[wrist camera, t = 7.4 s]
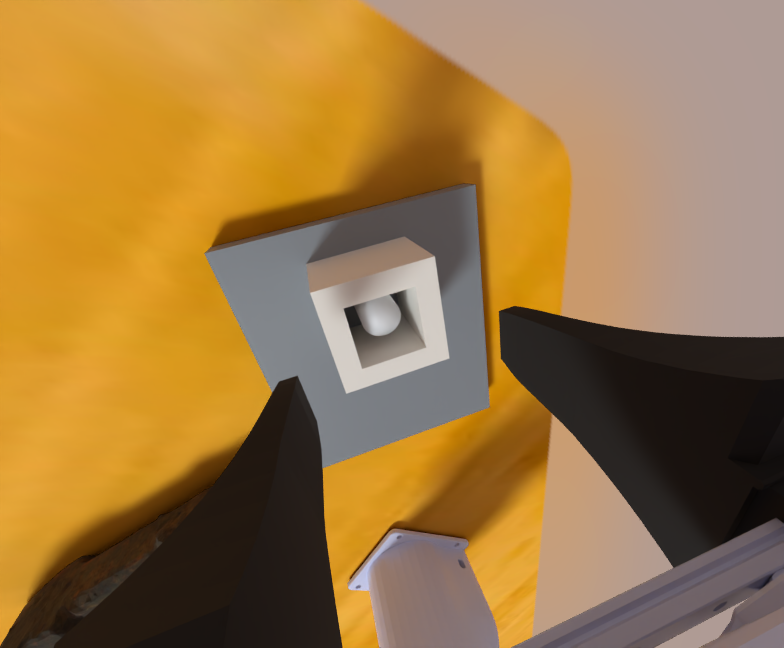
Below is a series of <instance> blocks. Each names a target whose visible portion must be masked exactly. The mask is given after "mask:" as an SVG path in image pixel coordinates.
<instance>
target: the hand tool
mask: <svg viewBox="0 0 784 648" xmlns="http://www.w3.org/2000/svg"><path fill="white" fill-rule="evenodd" d="M210 489H211V487H210V488H208V489H206V490H205V491H203V492H201V493H199V494H198V495H197V496H195V497H194V498H192V499H191V500H189V501H187V502H186V503H185V504H183V505H182V506H180V507H178V508H177V509H175V510H173V511H171V512H169V513H167V514H163V515H160V516H159V517H158V519H157V520H156V521H154V522H153V523H151V524H149V525H147V526H146V527H144V528H142V529H139V530H138V531H137V532H135V533H134V534H133V535H131V536H130V537H128V538H126V539H125V540H123V541H121V542H120V543H118V544H116V545H114V546H113V547H111V548H109V549H108V550H106V551H104V552H103V553H101V554H99V555H98V556H91V555H88V556H82V557H80V558H78V559H77V560H75V561H74V562H72V563H71V564H70V565H68V566H67V567H66V568H64V569H63V570H62V571H60V572H59V573H58V574H57V575H56V576H55V577H54V578H53V579H52V580H50V581H49V582H48V583H47V584H46V585H45V586H44V587H43V588H42V589H41V590H40V591H39V592H38V593H37V594H36V595H35V596H34V597H33V598H32V599H31V600H30V602H29V603H28V604H27V605H26V606H25V607H24V608H23V610H22V611H21V613H20V614H19V616H18V618H17V619H16V621H15V622H14V624H13V626H12V627H11V628H10V630H9V632H8V634H7V636H6V637H5V639H4V641H3V642H2V644H1V646H0V648H53V647H54V645H55V643H56V642H57V641H58V640H60V639H61V638H62V637H63V636H64V635H65V634H67V633H68V632H69V631H70V630H71V629H72V628H73V627H74V626H75V625H77V624H78V623H79V622H80V621H81V620H82V619H83V618H84V617H85V616H86V615H88V614H89V613H90V612H91V611H92V610H93V609H94V608H95V607H96V606H97V605H99V604H100V603H101V602H102V601H103V600H104V599H105V598H106V597H107V596H108V595H110V594H111V593H112V592H113V591H114V590H115V589H116V588H117V587H118V586H119V585H120V584H121V583H123V582H124V581H125V580H126V579H127V578H128V577H129V576H130V575H131V574H132V573H133V572H134V571H135V570H136V569H137V568H138V567H139V566H140V565H141V564H142V563H143V562H144V561H145V560H146V559H147V558H148V557H149V556H150V555H151V554H152V553H153V552H154V551H155V550H156V549H157V548H158V547H159V546H160V545H161V544H162V543H163V542H164V541H165V540H166V539H167V538H168V537H169V535H170V534H171V533H172V532H173V531H174V530H175V529H176V528H177V527H178V526H179V525H180V523H181V522H182V521H183V520H184V519H185V518H186V517H187V515H188V514H189V513H190V512H191V511H192V510H193V509H194V507H195V506H196V505H197V504H198V503H199V502H200V501H201V499H202V498H203V497H204V496H205V495H206V494H207V492H208V491H209V490H210Z"/></svg>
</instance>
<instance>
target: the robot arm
mask: <svg viewBox="0 0 784 648" xmlns="http://www.w3.org/2000/svg"><path fill="white" fill-rule="evenodd" d="M499 322H500V347H501V359H502V360H503V362H504V363H505V364H506V366H507V367H508V368H509V370H510V371H511V372H512V373H513V375H514V376H515V377H516V378H517V380H518V381H519V382H520V383H521V384H522V385H523V386H524V387H525V388H526V389H527V390H528V391H529V392H530V393H531V394H532V395H534V396H535V397H536V398H537V399H538V400H539V401H540V402H541V403H542V404H543V405H544V406H545V407H546V408H547V409H548V410H549V411H550V412H551V413H552V414H553V415H554V416H555V417H556V418H557V419H559V421H560V422H562V423H563V424H564V426H565V427H566V428H567V429H568V430H569V431H570V432H571V433H572V434H573V435H574V436H575V437H576V439H577V440H578V441H579V442H580V443H581V444H582V446H583V447H584V448H585V449H586V450H587V452H588V453H589V454H590V455H591V456H592V457H593V459H594V460H595V461H596V462H597V464H598V465H599V466H600V467H601V469H602V470H603V471H604V472H605V474H606V475H607V476H608V477H609V479H610V480H611V481H612V482H613V484H614V485H615V486H616V488H617V489H618V490H619V491H620V493H621V494H622V496H623V497H624V498H625V499H626V501H627V502H628V504H629V505H630V506H631V508H632V509H633V510H634V512H635V513H636V514H637V516H638V517H639V518H640V520H641V521H642V522H643V524H644V525H645V527H646V528H647V530H648V531H649V532H650V534H651V535H652V537H653V538H654V539H655V541H656V543H657V544H658V545H659V547H660V548H661V550H662V551H663V552H664V554H665V556H666V557H667V558H668V560H669V561H670V563H671V565H672V566H673V569H671V570H669V571H667V572H665V573H663V574H660V575H659V576H656V577H654V578H652V579H650V580H648V581H646V582H644V583H642V584H640V585H638V586H636V587H634V588H632V589H630V590H628V591H626V592H624V593H622V594H620V595H618V596H616V597H613V598H612V599H609V600H607V601H606V602H603V603H601V604H599V605H597V606H595V607H593V608H591V609H589V610H587V611H585V612H583V613H581V614H579V615H577V616H575V617H573V618H571V619H569V620H567V621H564V622H562V623H560V624H558V625H556V626H554V627H552V628H550V629H548V630H546V631H544V632H542V633H540V634H538V635H536V636H534V637H532V638H530V639H528V640H526V641H524V642H522V643H520V644H518V645H515V646H513V647H511V648H655V647H656V646H658V645H660V644H662V643H664V642H666V641H668V640H670V639H672V638H673V637H675V636H677V635H679V634H681V633H683V632H685V631H687V630H688V629H690V628H692V627H694V626H696V625H698V624H700V623H702V622H704V621H706V620H708V619H709V618H711V617H713V616H715V615H717V614H719V613H721V612H723V611H725V610H726V609H728V608H730V607H732V606H734V605H736V604H738V603H740V602H742V601H744V600H745V599H747V598H748V599H747V600H746V601H744V602H743V603H742V604H740V605H739V606H738V607H736V608H735V609H734V612H733V615H732V618H731V621H730V623H729V624H728V626H727V627H726V628H725V630H724V631H723V633H722V634H721V636H720V637H719V638H717V639H715V640H713V641H711V642H709V643H707V644H705V645H703V646H701V647H699V648H784V337H761V338H760V337H711V336H709V337H708V336H692V335H678V334H665V333H655V332H647V331H639V330H632V329H625V328H618V327H612V326H607V325H601V324H596V323H591V322H587V321H582V320H577V319H573V318H568V317H564V316H560V315H555V314H551V313H547V312H543V311H538V310H534V309H529V308H524V307H517V306H513V307H510V308H507V309H504V310H501V311H499ZM468 544H469V543H468V541H467V539H462V538H455V537H449V536H442V535H435V534H429V533H422V532H415V531H408V530H402V529H392V530H390V531H389V532H388V534H387V535H386V536H385V537H384V539H383V540H382V541H381V542H380V544H379V545H378V546H377V547H376V549H375V550H374V551H373V552H372V553H371V555H370V556H369V557H368V558H367V560H366V561H365V562H364V563H363V565H362V566H361V567H360V568H359V570H358V571H357V572H356V573H355V575H354V576H353V577H352V578H351V580H350V581H349V582H348V589H350V590H367V591H369V592H370V598H371V603H372V609H373V614H374V620H375V626H376V631H377V637H378V642H379V648H499V639H498V632H497V627H496V624H495V620H494V618H493V615H492V613H491V610H490V608H489V606H488V604H487V601H486V599H485V597H484V595H483V592H482V590H481V588H480V585H479V583H478V581H477V579H476V576H475V574H474V572H473V570H472V567H471V565H470V563H469V561H468V558H467V556H466V554H465V552H464V550H465V548H466V547H467V546H468ZM749 597H750V598H749ZM53 648H342V642H341V635H340V629H339V623H338V617H337V610H336V604H335V597H334V590H333V583H332V577H331V570H330V563H329V555H328V548H327V540H326V533H325V520H324V497H323V469H322V448H321V442H320V435H319V430H318V424H317V420H316V418H315V415H314V413H313V411H312V408H311V406H310V404H309V401H308V399H307V396H306V394H305V392H304V389H303V387H302V385H301V382H300V380H299V378H298V376H295V377H291V378H288V379H285V380H282V381H279V382H278V384H277V386H276V387H275V389H274V391H273V393H272V395H271V396H270V398H269V400H268V402H267V404H266V406H265V407H264V409H263V411H262V413H261V415H260V416H259V418H258V420H257V422H256V423H255V425H254V427H253V429H252V430H251V432H250V434H249V435H248V437H247V438H246V440H245V441H244V443H243V444H242V446H241V448H240V449H239V451H238V452H237V454H236V455H235V457H234V458H233V460H232V461H231V462H230V464H229V465H228V467H227V468H226V469H225V471H224V472H223V473H222V475H221V476H220V477H219V478H218V480H217V481H216V482H215V484H214V485H213V486H212V487H211V489H210V490H209V491H208V492H207V494H206V495H205V496H204V497H203V498H202V499H201V501H200V502H199V503H198V504H197V505H196V506H195V507H194V509H193V510H192V511H191V512H190V513H189V514H188V515H187V517H186V518H185V519H184V520H183V521H182V522H181V523H180V525H179V526H178V527H177V528H176V529H175V530H174V531H173V532H172V533H171V534H170V535H169V537H168V538H167V539H166V540H165V541H164V542H163V543H162V544H161V545H160V546H159V547H158V548H157V549H156V550H155V551H154V552H153V553H152V554H151V555H150V556H149V557H148V558H147V559H146V560H145V561H144V562H143V563H142V564H141V565H140V566H139V567H138V568H137V569H136V570H135V571H134V572H133V573H132V574H131V575H130V576H129V577H128V578H127V579H126V580H125V581H124V582H123V583H121V584H120V585H119V586H118V587H117V588H116V589H115V590H114V591H113V592H112V593H111V594H110V595H108V596H107V597H106V598H105V599H104V600H103V601H102V602H101V603H100V604H99V605H97V606H96V607H95V608H94V609H93V610H92V611H91V612H90V613H89V614H88V615H86V616H85V617H84V618H83V619H82V620H81V621H80V622H79V623H78V624H77V625H75V626H74V627H73V628H72V629H71V630H70V631H69V632H68V633H67V634H65V635H64V636H63V637H62V638H61V639H60V640H58V641H57V642H56V643H55V645H54V647H53Z"/></svg>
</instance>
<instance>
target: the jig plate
mask: <svg viewBox="0 0 784 648" xmlns="http://www.w3.org/2000/svg"><path fill="white" fill-rule="evenodd" d="M404 236H405V237H406V238H408V239H409V240H411V241H412V242H414V243H415V244H417V245H418V246H420V247H421V248H423V249H425V250H426V251H428V252H429V253H431V254H432V255H434V256H435V261H436V268H437V275H438V282H439V289H440V296H441V303H442V310H443V317H444V324H445V331H446V338H447V345H448V351H449V359H446V360H443V361H440V362H437V363H435V364H432V365H429V366H426V367H423V368H420V369H417V370H414V371H411V372H408V373H405V374H403V375H400V376H397V377H394V378H391V379H388V380H385V381H382V382H379V383H376V384H373V385H371V386H368V387H365V388H362V389H359V390H356V391H353V392H350V393H347V394H346V392H345V389H344V386H343V383H342V381H341V378H340V375H339V372H338V369H337V367H336V364H335V361H334V358H333V356H332V353H331V350H330V347H329V344H328V342H327V339H326V336H325V333H324V331H323V328H322V325H321V322H320V319H319V317H318V314H317V311H316V308H315V305H314V303H313V300H312V297H311V294H310V289H309V282H308V274H307V267H306V264H308V263H312V262H315V261H319V260H322V259H326V258H329V257H333V256H336V255H340V254H344V253H347V252H351V251H354V250H358V249H361V248H365V247H368V246H372V245H376V244H379V243H383V242H386V241H390V240H393V239H397V238H400V237H404ZM204 254H205V256H206V258H207V260H208V262H209V264H210V266H211V268H212V270H213V272H214V274H215V276H216V278H217V280H218V282H219V284H220V286H221V288H222V290H223V292H224V294H225V296H226V299H227V301H228V303H229V305H230V307H231V309H232V311H233V313H234V315H235V317H236V319H237V321H238V323H239V325H240V327H241V329H242V331H243V333H244V335H245V337H246V339H247V341H248V343H249V346H250V348H251V350H252V352H253V354H254V356H255V358H256V360H257V362H258V364H259V366H260V368H261V370H262V372H263V374H264V376H265V378H266V380H267V382H268V384H269V386H270V388H271V391H272V393H273V391H274V389H275V387H276V386H277V384H278V382H279V381H282V380H285V379H288V378H291V377H295V376H298V378H299V380H300V382H301V385H302V387H303V389H304V392H305V394H306V396H307V399H308V401H309V404H310V406H311V408H312V411H313V413H314V415H315V418H316V420H317V424H318V430H319V435H320V442H321V448H322V468H324V467H327V466H330V465H333V464H335V463H338V462H341V461H344V460H346V459H349V458H352V457H355V456H357V455H360V454H363V453H366V452H368V451H371V450H374V449H376V448H379V447H382V446H385V445H387V444H390V443H393V442H396V441H398V440H401V439H404V438H407V437H409V436H412V435H415V434H418V433H420V432H423V431H426V430H429V429H431V428H434V427H437V426H439V425H442V424H445V423H448V422H450V421H453V420H456V419H459V418H461V417H464V416H467V415H470V414H472V413H475V412H478V411H481V410H483V409H486V408H489V407H490V406H489V390H488V374H487V358H486V343H485V327H484V311H483V295H482V279H481V264H480V248H479V232H478V216H477V201H476V185H474V184H465V183H464V184H460V185H456V186H452V187H448V188H444V189H440V190H436V191H432V192H428V193H424V194H420V195H416V196H412V197H408V198H405V199H401V200H397V201H393V202H389V203H385V204H381V205H377V206H373V207H369V208H365V209H361V210H357V211H353V212H349V213H345V214H341V215H337V216H333V217H329V218H325V219H321V220H317V221H313V222H309V223H305V224H301V225H297V226H293V227H289V228H285V229H281V230H277V231H273V232H270V233H266V234H262V235H258V236H254V237H250V238H246V239H242V240H238V241H234V242H230V243H226V244H222V245H218V246H214V247H210V248H209V249H208V250H207V251H206V252H205V253H204ZM344 312H345V315H346V319H347V322H348V325H349V328H352V327H355V326H358V325H361V324H362V325H363V327H364V329H365V330H366V331H367V332H368V333H370V334H372V335H375V336H383V335H387V334H389V333H391V332H392V331H394V330H395V329H396V327H397V326H398V324H399V322H400V319H401V311H400V307H399V302H398V297H397V293H393V294H389V295H386V296H383V297H380V298H376V299H373V300H370V301H366V302H363V303H360V304H357V305H353V306H350V307H347V308H344Z"/></svg>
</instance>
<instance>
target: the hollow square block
mask: <svg viewBox="0 0 784 648" xmlns="http://www.w3.org/2000/svg"><path fill="white" fill-rule="evenodd" d="M306 267H307V274H308V282H309V289H310V294H311V297H312V300H313V303H314V305H315V308H316V311H317V314H318V317H319V319H320V322H321V325H322V328H323V331H324V333H325V336H326V339H327V342H328V344H329V347H330V350H331V353H332V356H333V358H334V361H335V364H336V367H337V369H338V372H339V375H340V378H341V381H342V383H343V386H344V389H345V392H346V394H347V393H350V392H353V391H356V390H359V389H362V388H365V387H368V386H371V385H373V384H376V383H379V382H382V381H385V380H388V379H391V378H394V377H397V376H400V375H403V374H405V373H408V372H411V371H414V370H417V369H420V368H423V367H426V366H429V365H432V364H435V363H437V362H440V361H443V360H446V359H449V351H448V345H447V338H446V331H445V324H444V317H443V310H442V303H441V296H440V289H439V282H438V275H437V268H436V261H435V256H434V255H432V254H431V253H429V252H428V251H426V250H425V249H423V248H421V247H420V246H418V245H417V244H415V243H414V242H412V241H411V240H409V239H408V238H406V237H405V236H404V237H400V238H397V239H393V240H390V241H386V242H383V243H379V244H376V245H372V246H368V247H365V248H361V249H358V250H354V251H351V252H347V253H344V254H340V255H336V256H333V257H329V258H326V259H322V260H319V261H315V262H312V263H308V264H306ZM393 293H397V297H398V302H399V307H400V311H401V319H400V322H399V324H398V326H397V327H396V329H395V330H394V331H392V332H391V333H389V334H387V335H383V336H375V335H372V334H370V333H368V332H367V331H366V330H365V329H364V327H363V325H362V324H361V325H358V326H355V327H352V328H349V325H348V322H347V319H346V315H345V312H344V308H347V307H350V306H353V305H357V304H360V303H363V302H366V301H370V300H373V299H376V298H380V297H383V296H386V295H389V294H393Z"/></svg>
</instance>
